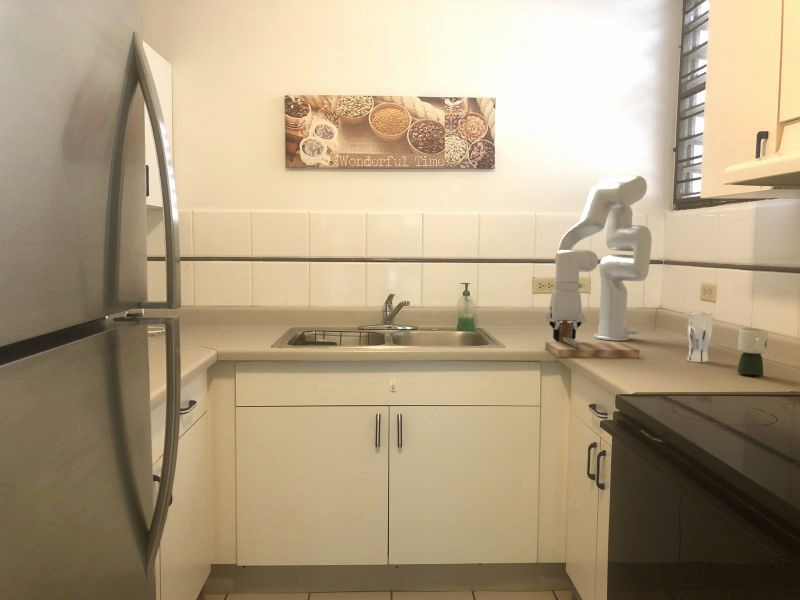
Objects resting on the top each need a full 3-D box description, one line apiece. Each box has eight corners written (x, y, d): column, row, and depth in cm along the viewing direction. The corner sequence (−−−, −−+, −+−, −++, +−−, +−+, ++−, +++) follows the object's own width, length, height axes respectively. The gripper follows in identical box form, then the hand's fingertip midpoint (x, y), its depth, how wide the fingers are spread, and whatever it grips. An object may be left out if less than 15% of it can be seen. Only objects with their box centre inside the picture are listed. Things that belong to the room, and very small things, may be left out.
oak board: (620, 349, 211) (620, 342, 211) (638, 357, 198) (639, 349, 197) (545, 349, 210) (545, 341, 209) (558, 357, 196) (559, 348, 195)
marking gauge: (568, 346, 213) (570, 320, 213) (585, 355, 198) (586, 326, 197) (555, 346, 213) (557, 319, 212) (571, 355, 198) (572, 326, 197)
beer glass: (708, 359, 197) (711, 312, 196) (711, 363, 190) (715, 315, 189) (684, 357, 199) (687, 311, 198) (686, 361, 193) (689, 313, 191)
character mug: (770, 380, 169) (774, 332, 168) (741, 378, 171) (745, 331, 170) (758, 372, 180) (761, 327, 178) (731, 370, 181) (734, 326, 180)
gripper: (587, 286, 214) (584, 339, 216) (538, 285, 213) (536, 338, 215) (595, 288, 207) (592, 343, 209) (545, 287, 205) (542, 342, 207)
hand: (564, 340), depth 212 cm, fingers closed on marking gauge, 4 cm apart
